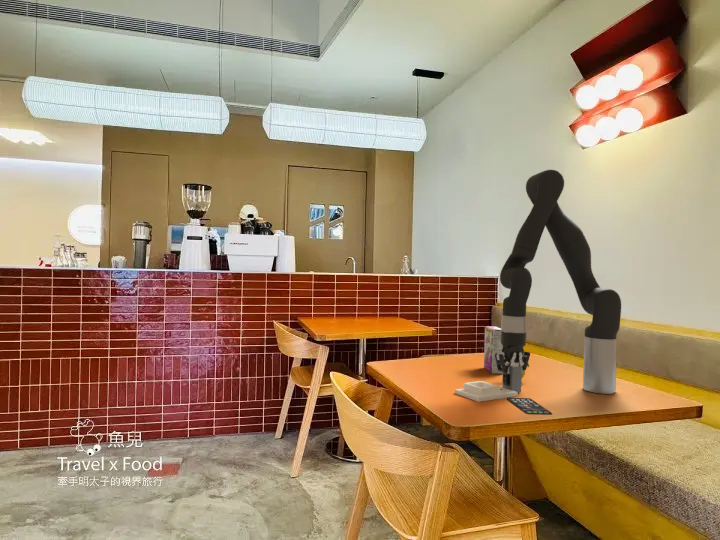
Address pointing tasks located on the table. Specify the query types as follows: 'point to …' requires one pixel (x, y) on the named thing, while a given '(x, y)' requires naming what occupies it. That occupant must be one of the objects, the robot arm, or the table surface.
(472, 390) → the outlet plate
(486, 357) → the candy bar box
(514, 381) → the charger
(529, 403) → the smartphone
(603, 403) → the table surface
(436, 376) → the table surface
